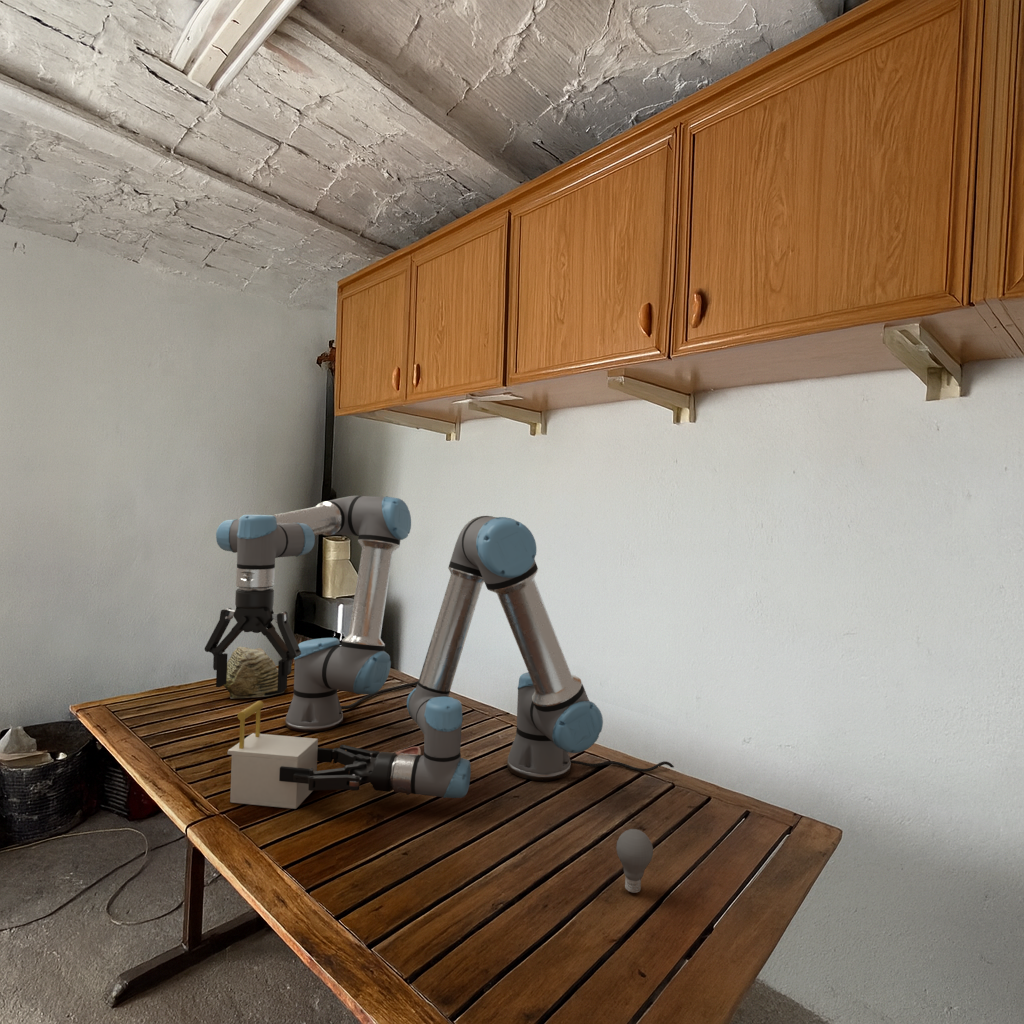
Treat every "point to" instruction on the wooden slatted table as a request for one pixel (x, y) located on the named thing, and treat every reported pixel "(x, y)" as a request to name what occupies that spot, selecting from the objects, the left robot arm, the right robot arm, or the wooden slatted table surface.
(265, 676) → the fossil
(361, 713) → the wooden slatted table surface
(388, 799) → the wooden slatted table surface
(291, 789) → the chest
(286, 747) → the lid
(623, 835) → the light bulb
